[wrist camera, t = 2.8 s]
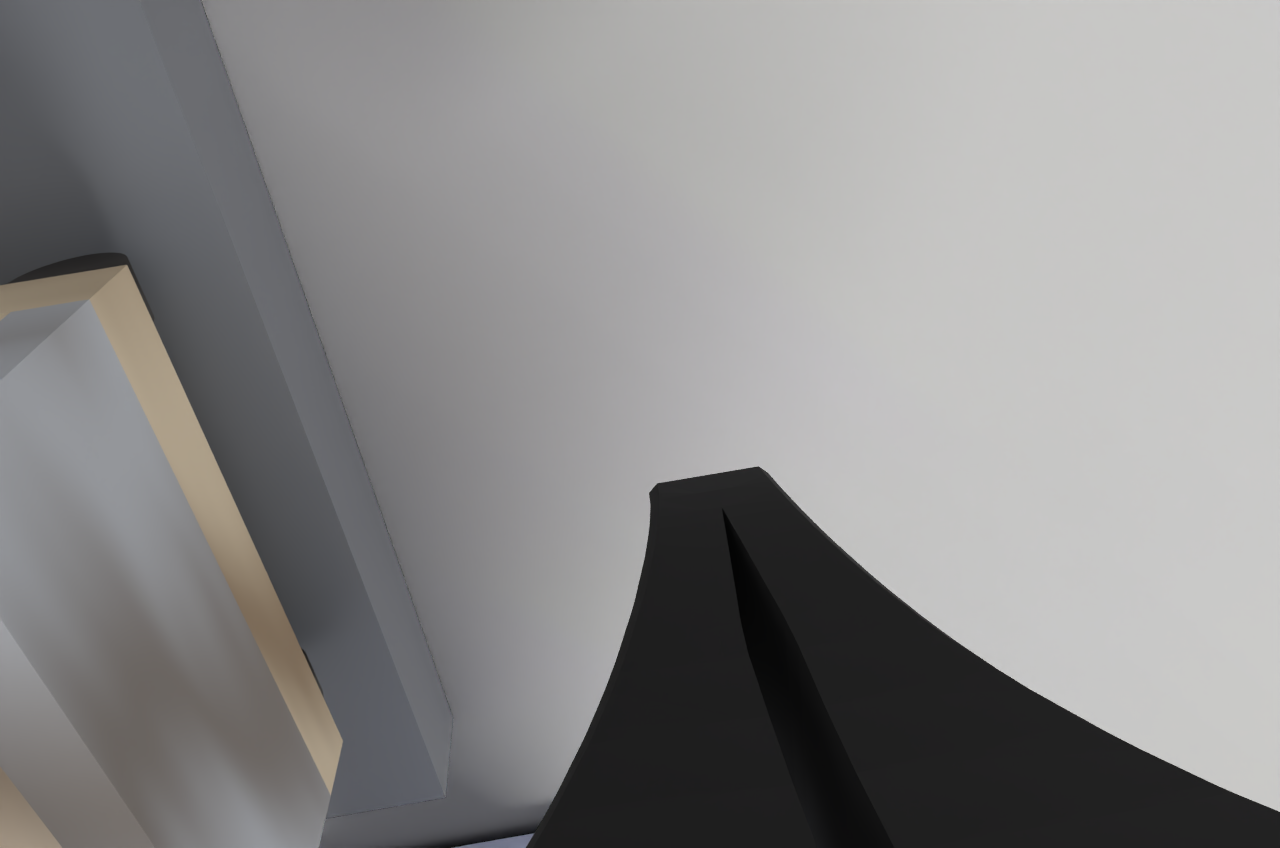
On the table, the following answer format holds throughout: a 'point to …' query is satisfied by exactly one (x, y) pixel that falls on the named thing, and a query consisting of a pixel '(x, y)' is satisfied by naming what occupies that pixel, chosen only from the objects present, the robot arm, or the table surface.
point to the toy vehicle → (135, 599)
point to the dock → (223, 342)
